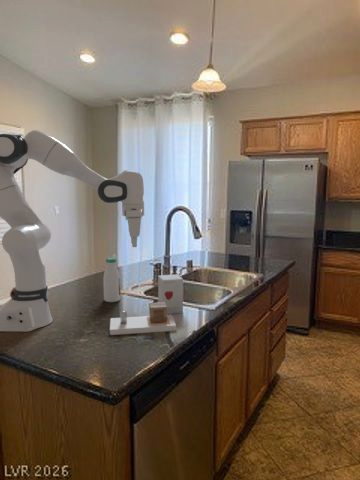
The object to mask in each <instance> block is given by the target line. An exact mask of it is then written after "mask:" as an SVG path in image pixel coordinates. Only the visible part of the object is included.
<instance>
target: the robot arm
mask: <svg viewBox="0 0 360 480" xmlns="http://www.w3.org/2000/svg"><path fill="white" fill-rule="evenodd" d="M28 160H34V161H35V162H38V163H39V164H41V165H42V166H45V167H46V168H47V169H49V170H51V171H53V172H55V173H57V174H61V175H63V176H67V177H71V178H75V179H77V180H79V181H81V182H83V184H85V185H87V186H88V187H90V188H92V189H94V190H95V191H96V192H97V195H98V198H99V199H100V200H101V201H103V202H104V203H106V204H117V203H118V202H121V208H122V209H121V210H122V211H121V214H122V215H121V216H123V217H125V221H127V224H128V225H127V226H128V232H129V236H130V238H131V239H130V240H131V241H130V242H131V244H132V245H131V247H132V248H137V246H138V237H140V233H141V222H142V221H141V220H142V218H143V216H145V202H144V193H145V188H144V187H145V186H144V179H143V176H142V174H141V173H140V172H139V171H138V172H137V171H134V170H128V169H127V170H123V171H122V172H121V173H119V174H117V175H115V176H113V177H110V178H106V177H104V176H102V175H101V174H99V173H98V172H96V171H94V170H93V169H91V168H90V167H88V166H87V165H86V164H85V163H84V162H83V161H82V160H81V159H80V158H79V157H78V155H77V154H75V152H73V150H71V149H70V148H69V147H68V146H67V145H66V144H64V143H63V142H61V141H60V140H58V139H57V138H55V137H52V136H50V135H49V134H47V133H45V132H42V131H40V130H36V129H35V130H30V131H29V132H28V133H26V135H25V136H24V137H23V136H22V135H19V134H10V133H0V219H2V220H4V221H5V222H6V223H7V224H8V225H9V227H11V228H9V229H8V230H7V231H6V232H5V233H4V234H3V236H2V239H1V244H2V247H3V249H4V251H5V252H6V253H8V255H9V258H10V260H11V261H10V262H11V263H12V266H13V267H12V268H13V271H14V272H13V273H14V282H15V283H14V284H15V285H14V287H12V289H11V290H10V293H9V297H10V299H9V300H8V301H7V302H5V303H4V304H3V305H2V306H1V307H0V332H25V333H26V332H32V331H33V330H36V329H41V328H42V327H45V326H48V325H50V324H51V323H53V320H54V319H53V317H52V315H51V311H50V306H49V289H48V285H47V275H46V274H47V272H46V266H45V265H44V263H43V262H42V259H41V255H40V250H41V249H43V248H45V246H47V245H48V243H49V242H50V241H51V237H52V236H51V235H52V233H51V230H50V229H49V227H48V226H47V225H46V224H44V223H43V222H42V221H41V219H40V218H39V217H38V215H37V214H36V213H35V211H34V210H33V209H32V208H31V206H30V205H29V203H28V201H27V200H26V198H25V196H24V193H23V192H22V190H21V188H20V186H19V184H18V181H17V180H16V178H15V174H16V173H17V172H19V171H20V170H21V169H23V168H24V167H25V166H26V165H27V163H28Z"/></svg>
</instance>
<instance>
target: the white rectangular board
mask: <svg viewBox="0 0 360 480" xmlns="http://www.w3.org/2000/svg"><path fill="white" fill-rule="evenodd" d="M147 317H150V315H146V316H145V315H144V316H143V315H142V316H127V323H126V324H121V322H120V317H110V321H109V335H110V336H115V335H129V334H130V335H132V334H144V333H145V334H146V333H148V334H149V333H158V332H159V333H161V332H175V331H177V325H176V322H175V320H174V317H173V314H167V317H168V319H169V322H170V324H160V325H148V321H147Z"/></svg>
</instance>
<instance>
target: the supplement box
mask: <svg viewBox="0 0 360 480" xmlns="http://www.w3.org/2000/svg"><path fill="white" fill-rule="evenodd" d="M157 276H158V279H157V281H158V283H157V284H158V285H157V289H158V294H157V295H158V297H157V300H158V302H165V304H166V306H167V315H174V314H183V313H184V278H183V277H181V276H180V275H179V274H162V275H157Z"/></svg>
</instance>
